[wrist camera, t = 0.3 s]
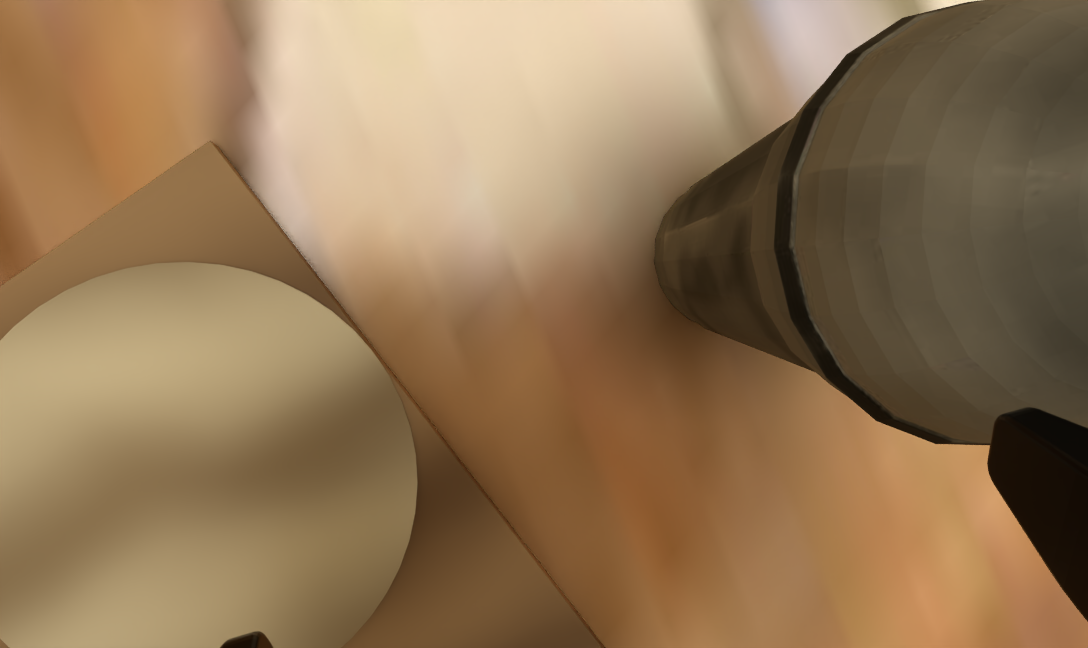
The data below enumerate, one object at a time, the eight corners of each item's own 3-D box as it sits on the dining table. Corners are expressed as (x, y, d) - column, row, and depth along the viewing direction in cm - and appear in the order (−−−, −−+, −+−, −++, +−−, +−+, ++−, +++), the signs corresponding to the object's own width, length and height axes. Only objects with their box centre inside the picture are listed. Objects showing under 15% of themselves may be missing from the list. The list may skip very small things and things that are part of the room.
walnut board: (637, 690, 25) (646, 706, 24) (198, 1050, 24) (188, 1083, 23) (217, 145, 23) (207, 139, 22) (-306, 510, 21) (-341, 520, 20)
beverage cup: (716, 424, 25) (1822, 932, 5) (558, 244, 24) (1195, 47, 4) (884, 264, 26) (2442, 185, 6) (736, 82, 25) (2006, -738, 5)
